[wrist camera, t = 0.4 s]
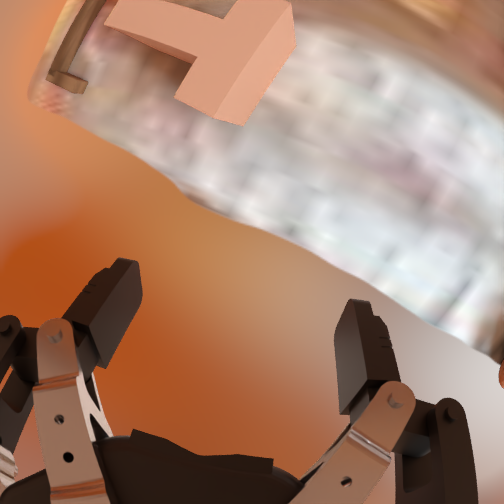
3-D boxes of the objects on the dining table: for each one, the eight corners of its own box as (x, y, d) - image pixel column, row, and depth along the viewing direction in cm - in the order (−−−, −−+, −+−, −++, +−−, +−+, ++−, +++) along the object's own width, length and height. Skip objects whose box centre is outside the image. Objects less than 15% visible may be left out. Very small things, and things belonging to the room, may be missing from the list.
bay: (163, -38, 24) (156, -44, 22) (82, 93, 33) (72, 92, 31) (128, -41, 24) (120, -47, 21) (55, 80, 33) (45, 79, 31)
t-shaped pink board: (296, 46, 28) (290, 3, 17) (243, 126, 32) (212, 117, 21) (188, 3, 27) (146, -37, 16) (142, 75, 32) (84, 58, 20)
